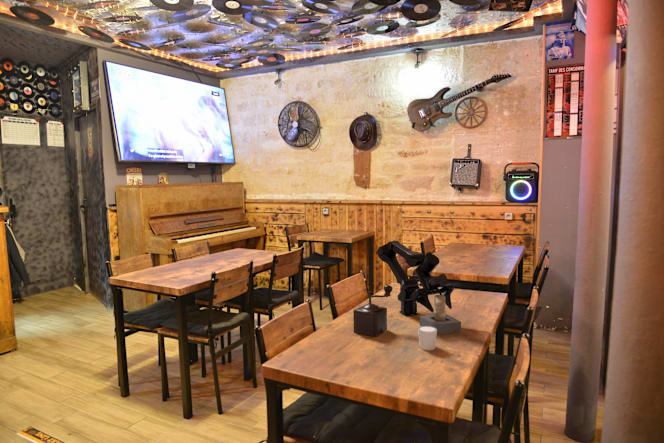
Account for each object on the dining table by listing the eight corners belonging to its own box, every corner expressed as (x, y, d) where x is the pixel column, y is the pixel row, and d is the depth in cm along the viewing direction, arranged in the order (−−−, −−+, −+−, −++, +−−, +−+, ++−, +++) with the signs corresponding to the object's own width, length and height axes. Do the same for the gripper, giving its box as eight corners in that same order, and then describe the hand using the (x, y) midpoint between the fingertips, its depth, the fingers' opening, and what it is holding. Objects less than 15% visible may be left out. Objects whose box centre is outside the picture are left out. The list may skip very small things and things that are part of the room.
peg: (434, 330, 173) (435, 297, 171) (433, 326, 177) (433, 294, 176) (445, 330, 172) (446, 298, 171) (444, 326, 176) (444, 295, 175)
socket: (434, 334, 167) (434, 325, 167) (419, 325, 178) (419, 316, 178) (460, 331, 170) (460, 321, 170) (444, 322, 182) (444, 313, 182)
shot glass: (415, 349, 153) (415, 330, 153) (420, 342, 159) (420, 324, 159) (434, 352, 150) (434, 333, 150) (438, 345, 156) (439, 327, 156)
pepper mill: (376, 337, 165) (376, 292, 163) (352, 332, 171) (352, 289, 170) (394, 326, 178) (394, 284, 176) (372, 321, 184) (371, 281, 182)
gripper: (415, 269, 172) (432, 303, 163) (451, 265, 180) (469, 297, 171) (404, 284, 180) (420, 317, 171) (439, 279, 187) (456, 310, 178)
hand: (442, 310), depth 172 cm, fingers open, 9 cm apart
